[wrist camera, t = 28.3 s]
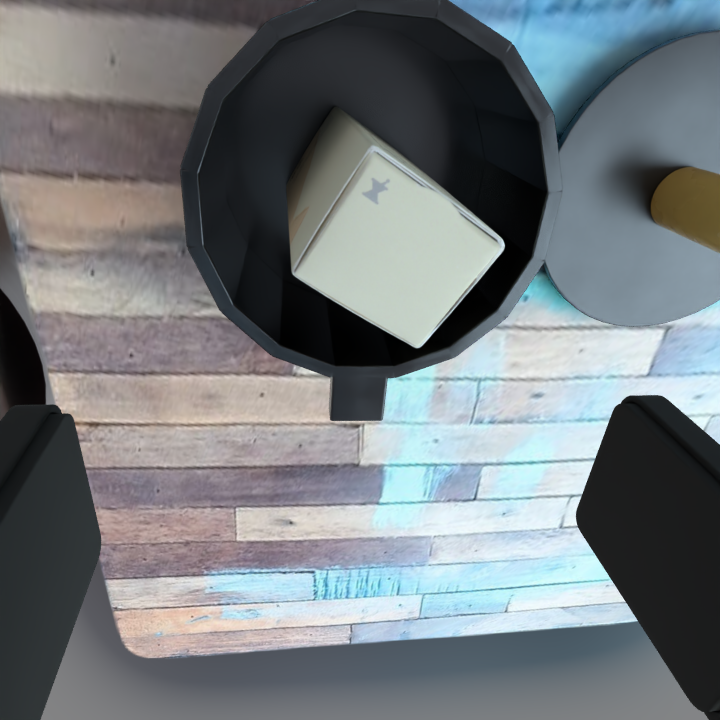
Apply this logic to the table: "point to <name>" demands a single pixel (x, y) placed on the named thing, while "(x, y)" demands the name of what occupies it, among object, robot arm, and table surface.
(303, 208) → the box
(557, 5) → the table surface
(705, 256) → the lid
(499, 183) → the pot
